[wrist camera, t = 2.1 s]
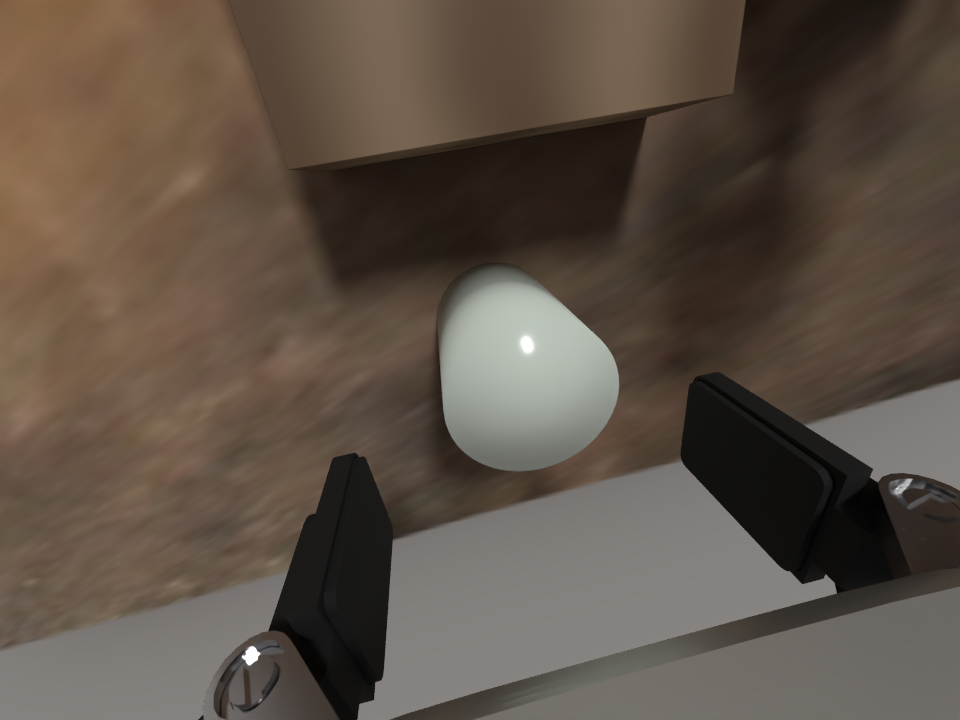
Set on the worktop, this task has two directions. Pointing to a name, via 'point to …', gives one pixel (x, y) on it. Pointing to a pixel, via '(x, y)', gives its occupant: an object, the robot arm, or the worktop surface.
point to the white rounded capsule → (519, 371)
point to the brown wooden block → (475, 69)
